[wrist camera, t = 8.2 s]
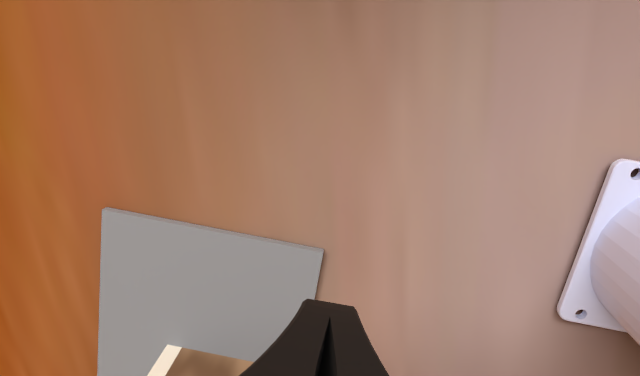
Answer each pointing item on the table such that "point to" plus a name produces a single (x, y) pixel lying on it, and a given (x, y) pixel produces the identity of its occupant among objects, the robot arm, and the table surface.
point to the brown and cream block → (196, 363)
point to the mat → (194, 290)
